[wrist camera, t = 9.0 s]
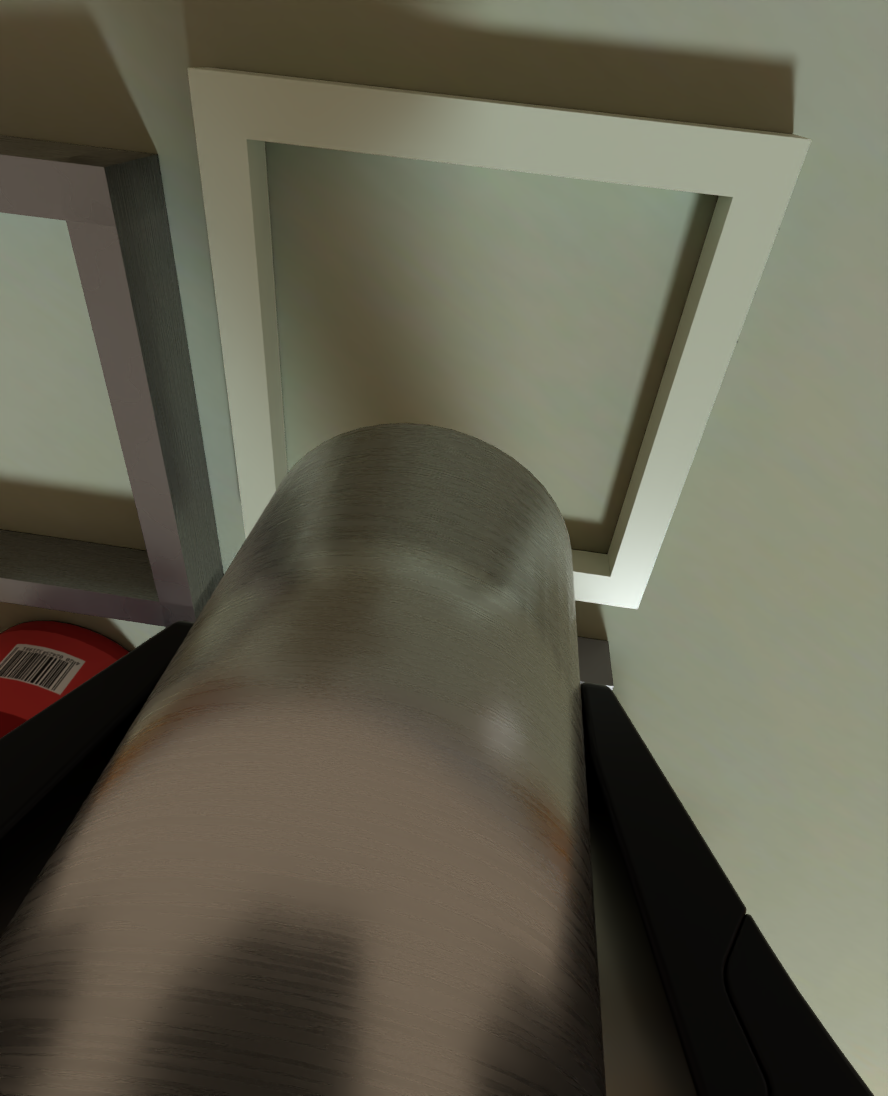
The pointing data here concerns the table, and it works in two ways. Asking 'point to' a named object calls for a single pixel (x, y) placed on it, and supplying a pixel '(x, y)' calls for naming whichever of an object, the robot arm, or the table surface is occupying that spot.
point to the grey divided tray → (122, 390)
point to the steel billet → (338, 814)
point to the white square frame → (508, 144)
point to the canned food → (47, 666)
